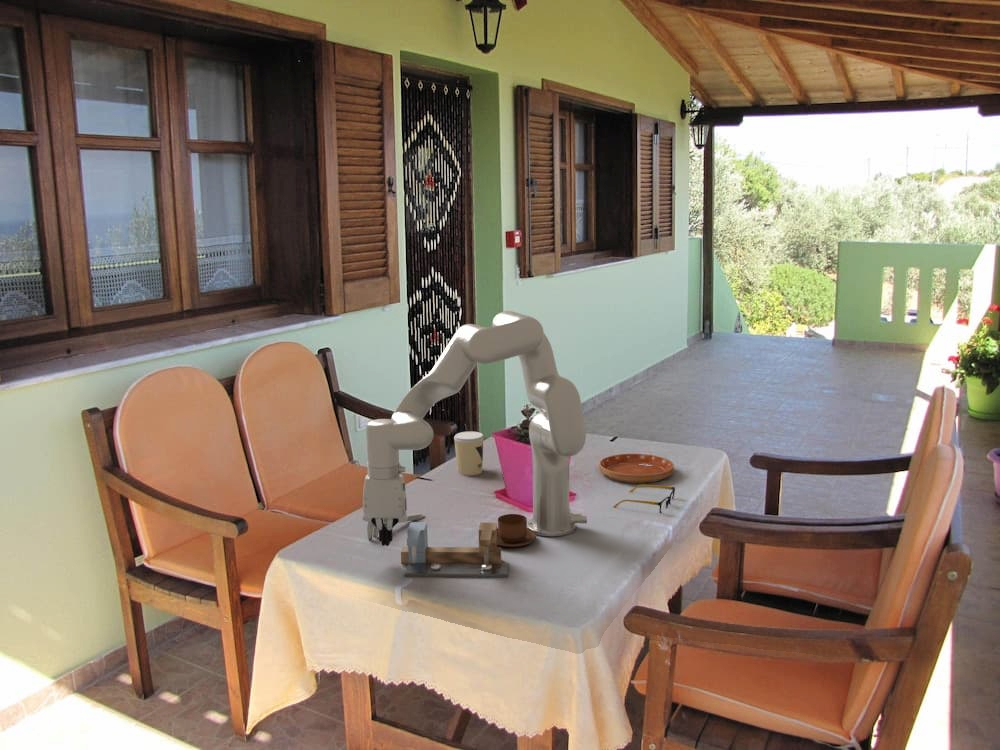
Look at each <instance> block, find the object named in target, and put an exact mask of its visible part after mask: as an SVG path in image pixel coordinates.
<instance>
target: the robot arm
mask: <svg viewBox="0 0 1000 750" xmlns="http://www.w3.org/2000/svg"><path fill="white" fill-rule="evenodd" d="M491 323H492V324H491V326H490V327H488V326H487V327H484V326H482V325H478V324H473V323H466V324H463V325H461V326H460V327H459V328H458V329H457V330H456V332H455V333H454V334H453V336H452V337H451V339H450V340H449V342H448V343H447V345H446V346H445V348H444V350H443V352H442V353H441V354H440V356H439V358H438V359H437V360H436V362H435V363H434V365H433V367H432V369H430V371H429V372H428V374H427V375H425V376H423V377H422V378H421V380H419V381H418V382H417V383H416V384H414V386H412V387H411V388H410V389H409V391H407V393H406V394H405V395H404V396H403V398H402V399H401V401H400V403H399V404H398V406H397V407H396V408H395V410H394V411H393V413H392V415H391V418H377V419H373V420H370V421H369V422H368V423H367V424H366V426H365V427H366V428H365V436H366V437H365V438H366V440H365V441H366V460H367V461H366V464H367V474H366V475H365V478H364V483H363V491H362V492H363V495H362V513H363V516H362V521H364V522H367V523H368V522H372V523H373V524H374V525H375V526H376V527H377V529H378V530H379V533H378V539H379V542H381V546H382V547H384V546H386V547H389V545H390V544H391V542H392V541H393V528H394V527H395V526H396V525H397V524H401V523H406V522H405V521H407V519H408V517H407V515H408V513H407V510H408V501H407V492H406V482H405V479H404V475H403V474H401V473H405V472H406V466H402V465H401V462H400V451H419V450H422V449H425V448H427V447H428V446H429V445H431V443H432V441H433V438H434V429H433V427H432V426H431V425H430V423H428V421H426V420H424V418H425V416H426V415H427V413H429V410H431V408H432V407H433V406H435V404H436V403H437V402H440V401H442V400H444V399H446V398H448V397H450V396H451V397H452V396H453V395H455V394H457V393H459V392H460V391H461V389H462V388H463V386H464V385H465V383H466V382H467V380H468V378H469V377H470V375H471V374H472V372H473V371H474V369H475V368H476V366H477V365H478V364H483V365H485V364H486V365H487V364H492V363H497V362H501V361H504V360H508V359H511V358H514V357H518V358H519V361H520V365H521V368H522V375H523V380H524V385H525V391H526V397H527V399H528V401H529V403H530V404H531V405H533V406H534V407H536V408H538V409H539V410H541V411H539V412H537V413H535V414H534V415H533V417H532V418H531V420H530V421H529V425H528V436H529V442H530V446H531V447H530V449H531V454H532V455H531V456H532V517H533V518H532V519H529V521H528V522H527V528H529V529H531V530H533V531H534V532H535V533H536V536H542V537H561V536H566V535H569V534H571V533H572V532H575V529H576V524H578V523H579V524H587V523H588V522H587V521H588V517H587V515H583V513H573V512H571V511H572V510H571V507H570V459H569V457H573V456H576V455H577V454H579V453H580V452H581V451H582V449H583V448H584V446H585V443H586V437H587V436H586V435H587V434H586V433H587V432H586V425H585V418H584V413H583V408H582V407H583V406H582V401H581V396H580V394H579V390H578V388H577V387H576V385H575V384H574V383H573V382H572V381H571V380H569V379H568V378H566V377H563V376H561V375H560V374H559V372H558V368H557V364H556V359H555V356H554V355H555V354H554V351H553V348H552V345H551V342H550V341H549V339H548V337H547V335H546V334H545V330H544V327H543V325H542V324H541V322H540V320H539V321H538V320H537V319H536V318H534V317H533V316H529V315H526V314H523V313H519V312H515V311H513V310H505V311H501V312H499V313H497V314H496V315H495V316H494V317H493V319H492V321H491ZM383 518H388V523H387V527H386V526H385V525H384V521H383ZM407 522H408V521H407Z"/></svg>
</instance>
